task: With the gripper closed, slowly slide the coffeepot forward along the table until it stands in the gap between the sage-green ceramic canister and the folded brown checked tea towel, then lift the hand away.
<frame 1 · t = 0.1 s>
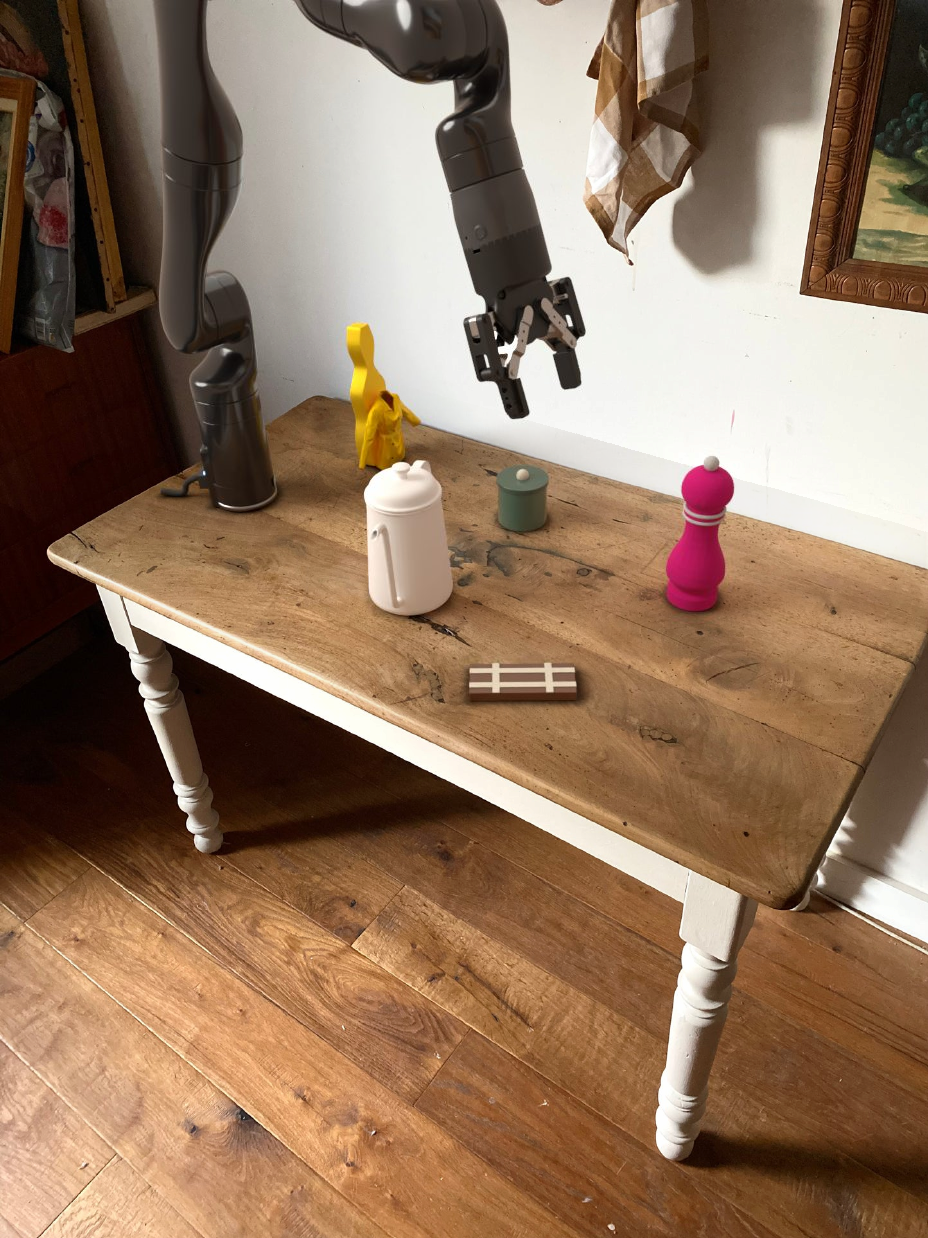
hand: (546, 402, 91), 31 cm above the table, tool tilted 20°, fingers open, 8 cm apart
pepper mill: (691, 598, 117), on the table
figure statuette: (383, 461, 148), on the table
coffeepot: (410, 597, 119), on the table
canister: (522, 518, 133), on the table
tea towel: (522, 685, 104), on the table
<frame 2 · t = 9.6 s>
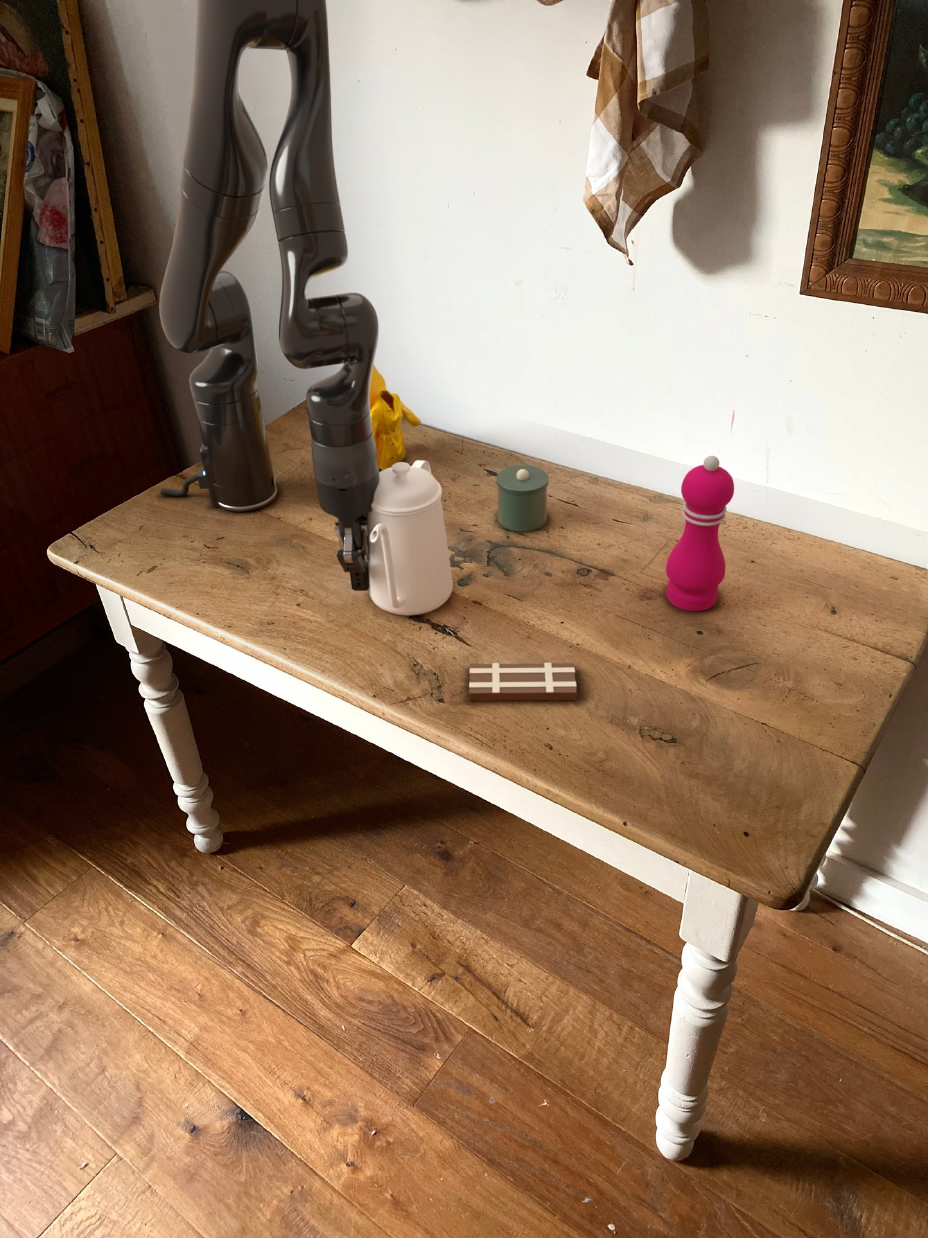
hand: (361, 587, 118), 2 cm above the table, tool pointing down, fingers closed
coffeepot: (410, 597, 119), on the table, touching gripper
everything else where it was.
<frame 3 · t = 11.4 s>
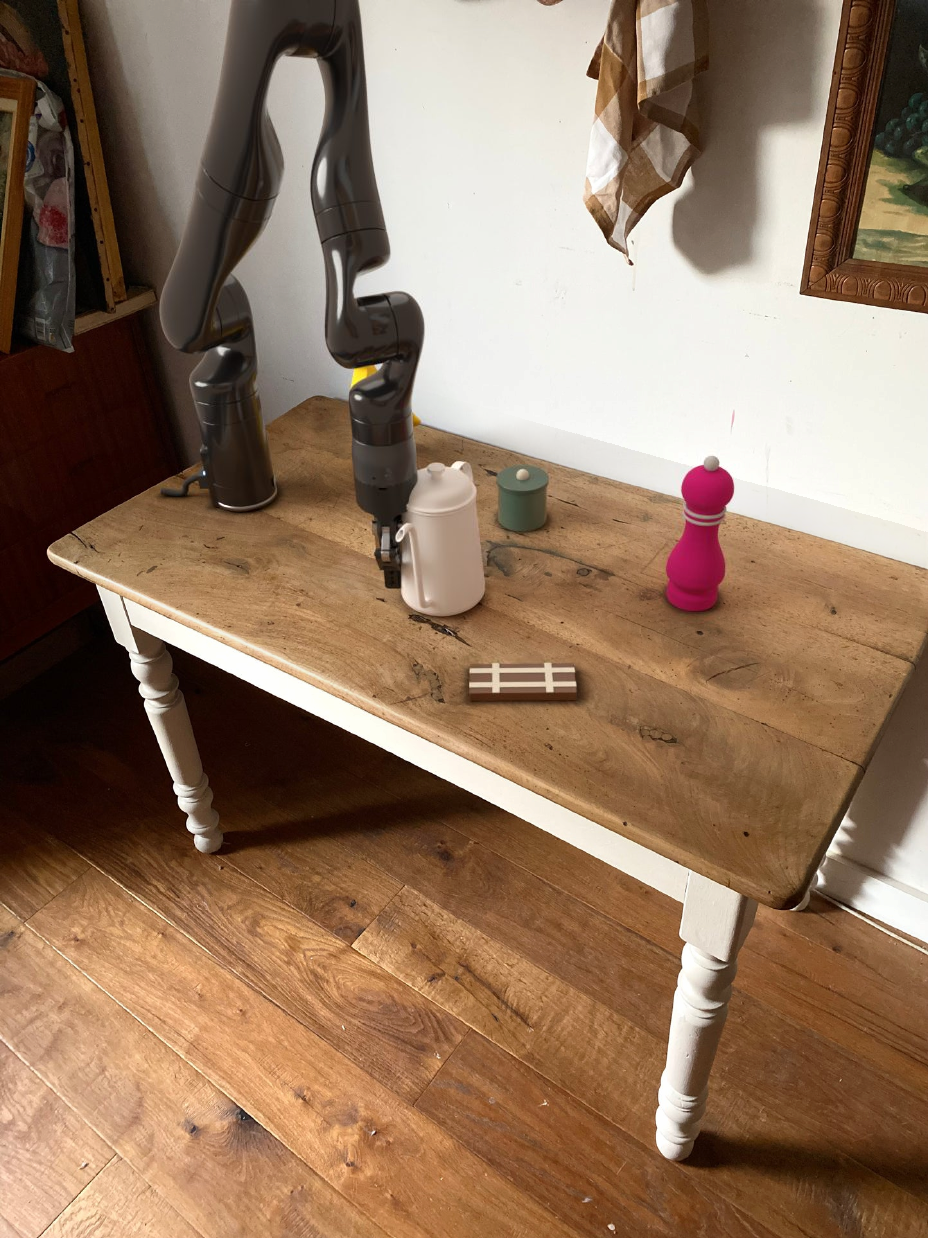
hand: (394, 585, 118), 2 cm above the table, tool pointing down, fingers closed
coffeepot: (442, 597, 118), on the table, touching gripper
everything else where it was.
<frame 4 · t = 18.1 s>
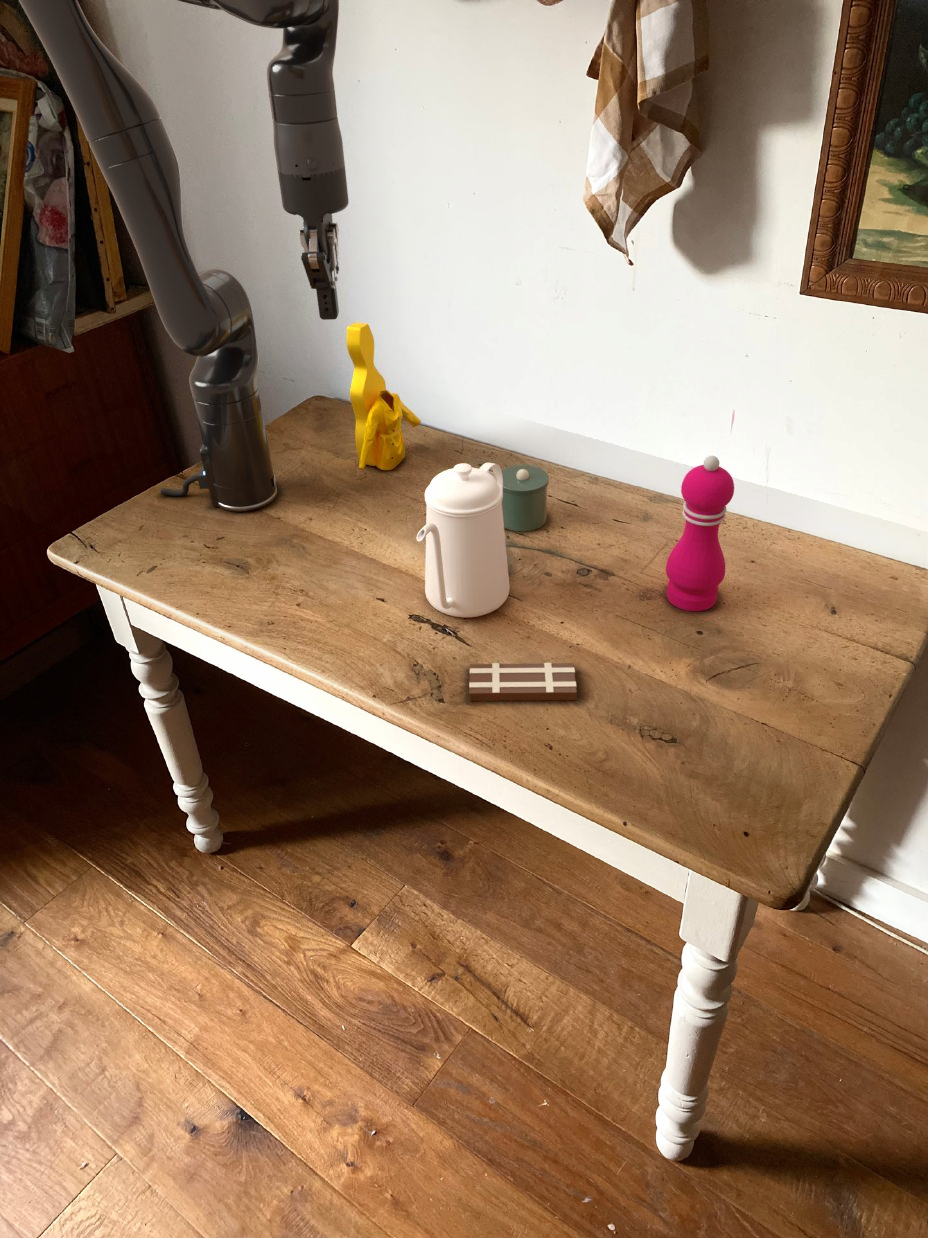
hand: (329, 317, 113), 31 cm above the table, tool pointing down, fingers closed
coffeepot: (466, 598, 118), on the table
everything else where it was.
at the end: coffeepot inside the target area (4.8 cm from its centre), on the table; coffeepot tilted 0° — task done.
